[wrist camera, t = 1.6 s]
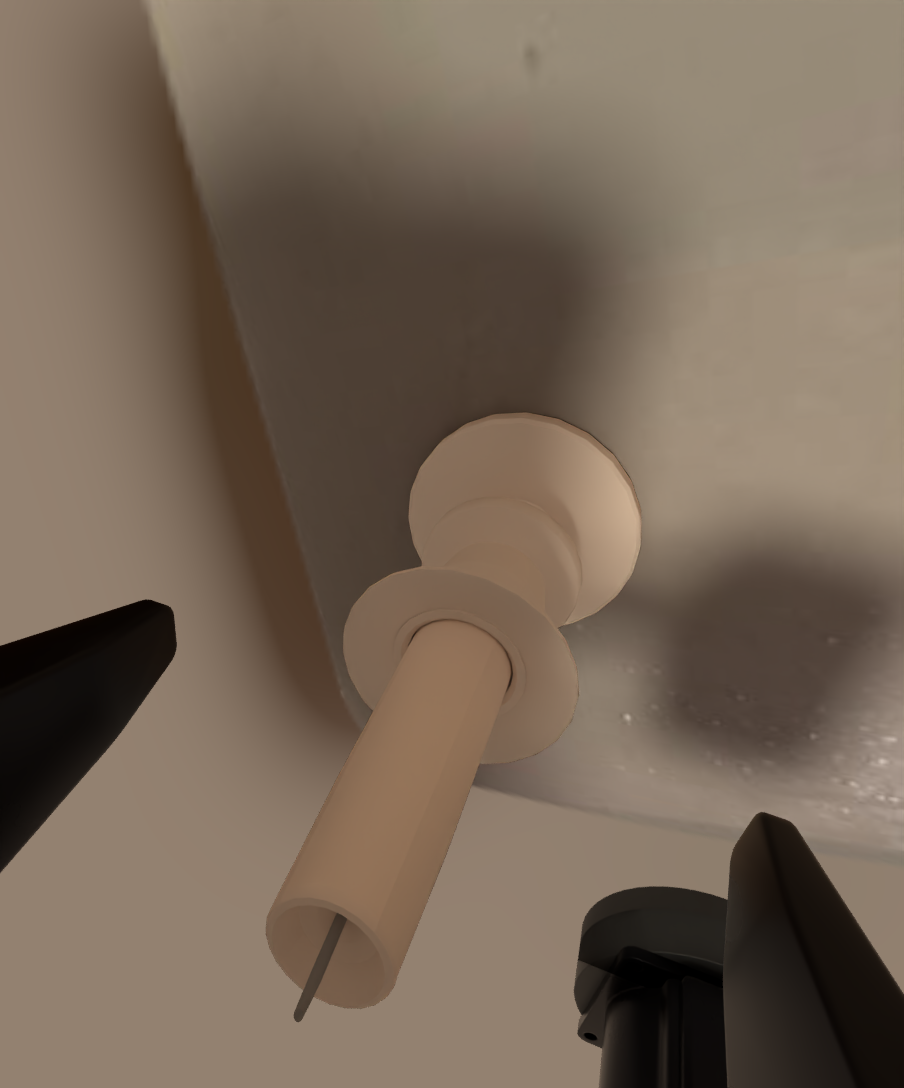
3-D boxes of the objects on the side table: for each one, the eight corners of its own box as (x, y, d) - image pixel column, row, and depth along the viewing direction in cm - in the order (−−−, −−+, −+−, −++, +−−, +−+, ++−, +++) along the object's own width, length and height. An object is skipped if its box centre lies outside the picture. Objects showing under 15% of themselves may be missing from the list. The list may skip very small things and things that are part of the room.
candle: (409, 401, 14) (-21, 764, 5) (658, 421, 13) (613, 946, 4) (419, 600, 17) (139, 1059, 8) (627, 633, 15) (560, 1233, 7)
